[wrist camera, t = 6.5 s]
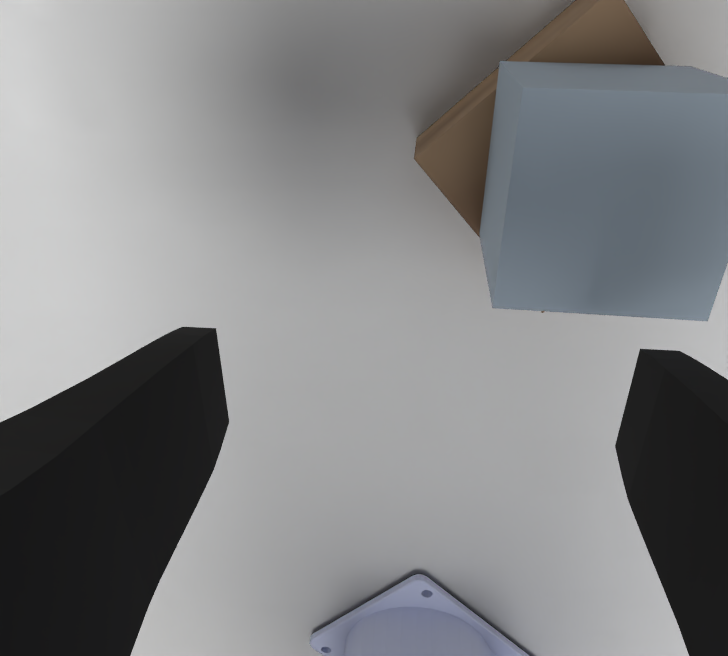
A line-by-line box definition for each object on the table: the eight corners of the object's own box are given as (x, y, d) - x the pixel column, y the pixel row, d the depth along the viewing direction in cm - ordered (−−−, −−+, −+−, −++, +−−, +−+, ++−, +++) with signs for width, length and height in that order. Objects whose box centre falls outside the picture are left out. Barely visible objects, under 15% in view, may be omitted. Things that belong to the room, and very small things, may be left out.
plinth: (696, 157, 18) (740, 184, 16) (528, 272, 21) (542, 312, 18) (587, -12, 16) (615, -13, 14) (416, 136, 19) (414, 158, 16)
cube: (690, 66, 14) (785, 95, 10) (643, 242, 17) (707, 320, 13) (499, 60, 15) (522, 87, 11) (479, 233, 17) (492, 307, 13)
